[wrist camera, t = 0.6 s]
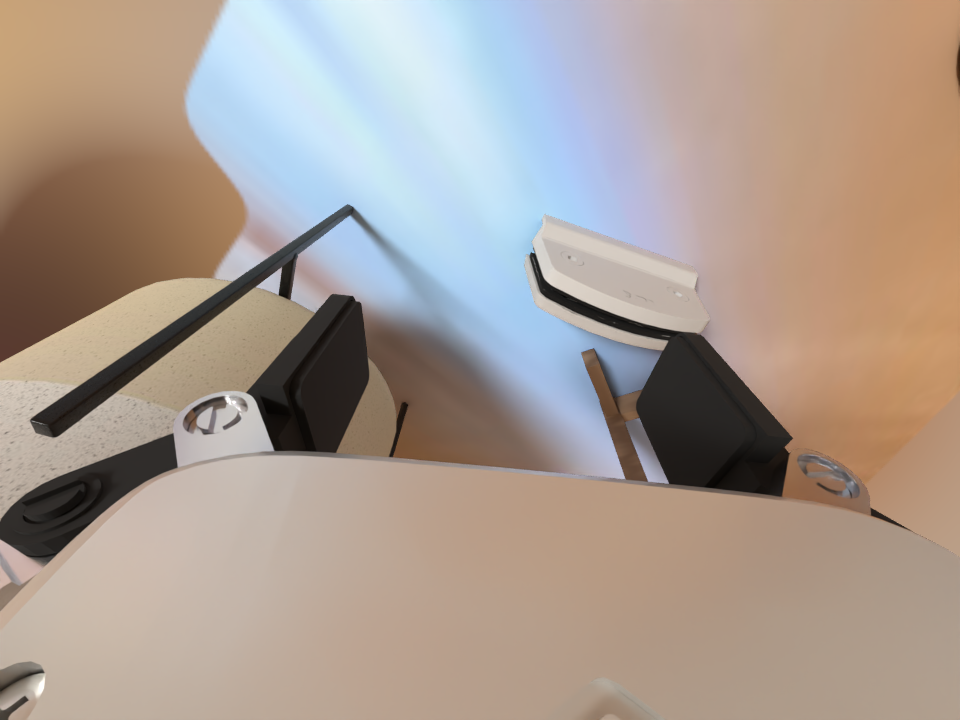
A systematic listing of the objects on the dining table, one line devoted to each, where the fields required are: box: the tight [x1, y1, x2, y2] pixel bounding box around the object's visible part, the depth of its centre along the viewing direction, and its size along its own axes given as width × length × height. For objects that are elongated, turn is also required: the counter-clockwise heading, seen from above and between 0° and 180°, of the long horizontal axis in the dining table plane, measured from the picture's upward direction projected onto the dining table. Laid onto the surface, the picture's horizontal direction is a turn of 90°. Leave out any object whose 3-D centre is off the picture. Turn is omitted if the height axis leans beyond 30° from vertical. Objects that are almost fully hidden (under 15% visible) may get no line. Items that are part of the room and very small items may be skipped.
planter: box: [0, 204, 408, 521], centre depth 27 cm, size 26×27×36 cm
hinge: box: [524, 214, 710, 350], centre depth 31 cm, size 17×5×10 cm, turn 73°
